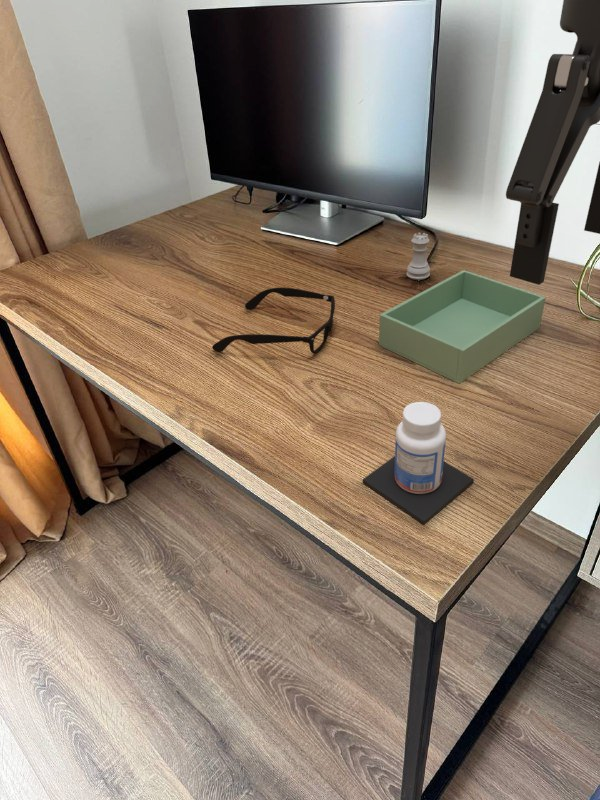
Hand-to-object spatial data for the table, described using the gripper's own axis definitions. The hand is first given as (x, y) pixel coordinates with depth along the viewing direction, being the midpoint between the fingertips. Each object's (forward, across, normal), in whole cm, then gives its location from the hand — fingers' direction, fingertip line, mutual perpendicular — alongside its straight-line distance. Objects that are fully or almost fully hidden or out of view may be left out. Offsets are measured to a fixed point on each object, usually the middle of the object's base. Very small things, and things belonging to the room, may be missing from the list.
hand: (565, 254), depth 53 cm
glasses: (+26, -2, -45) cm, 52 cm away
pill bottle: (+26, +10, -7) cm, 29 cm away
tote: (+26, -21, -22) cm, 40 cm away
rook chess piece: (+26, -34, -41) cm, 59 cm away
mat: (+26, +10, -7) cm, 29 cm away
